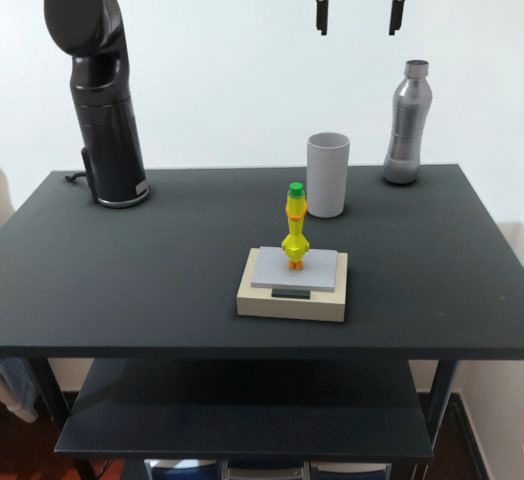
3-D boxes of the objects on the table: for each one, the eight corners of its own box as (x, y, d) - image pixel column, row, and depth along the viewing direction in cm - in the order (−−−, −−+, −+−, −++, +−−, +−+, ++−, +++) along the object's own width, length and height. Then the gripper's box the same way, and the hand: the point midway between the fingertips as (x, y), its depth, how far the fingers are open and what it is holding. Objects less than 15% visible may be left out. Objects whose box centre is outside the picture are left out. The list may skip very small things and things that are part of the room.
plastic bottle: (377, 174, 103) (391, 58, 90) (411, 171, 103) (430, 56, 90) (386, 189, 98) (402, 69, 85) (422, 186, 99) (444, 66, 85)
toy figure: (284, 251, 77) (284, 169, 69) (309, 252, 76) (312, 170, 68) (280, 278, 72) (280, 194, 64) (307, 279, 71) (310, 194, 63)
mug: (341, 220, 90) (347, 149, 82) (302, 217, 92) (303, 146, 83) (348, 193, 97) (354, 125, 89) (311, 190, 99) (314, 123, 91)
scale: (237, 314, 72) (236, 291, 70) (251, 265, 81) (250, 243, 79) (343, 322, 71) (345, 298, 68) (346, 270, 79) (348, 248, 77)
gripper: (435, -139, 60) (412, 27, 71) (307, -134, 62) (304, 27, 73) (442, -138, 55) (416, 42, 66) (301, -133, 57) (299, 41, 67)
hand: (357, 34), depth 69 cm, fingers open, 8 cm apart
